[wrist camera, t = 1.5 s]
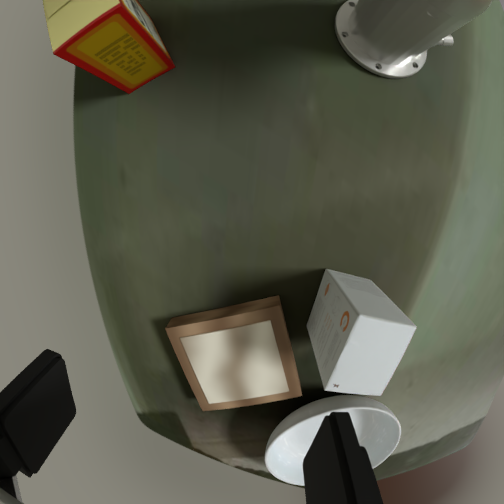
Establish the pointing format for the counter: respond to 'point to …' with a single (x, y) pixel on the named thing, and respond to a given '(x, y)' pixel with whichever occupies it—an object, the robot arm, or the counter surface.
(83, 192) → the counter surface
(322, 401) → the serving bowl
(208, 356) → the picture frame
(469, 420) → the counter surface
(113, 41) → the baking soda box
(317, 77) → the counter surface
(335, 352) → the small box
